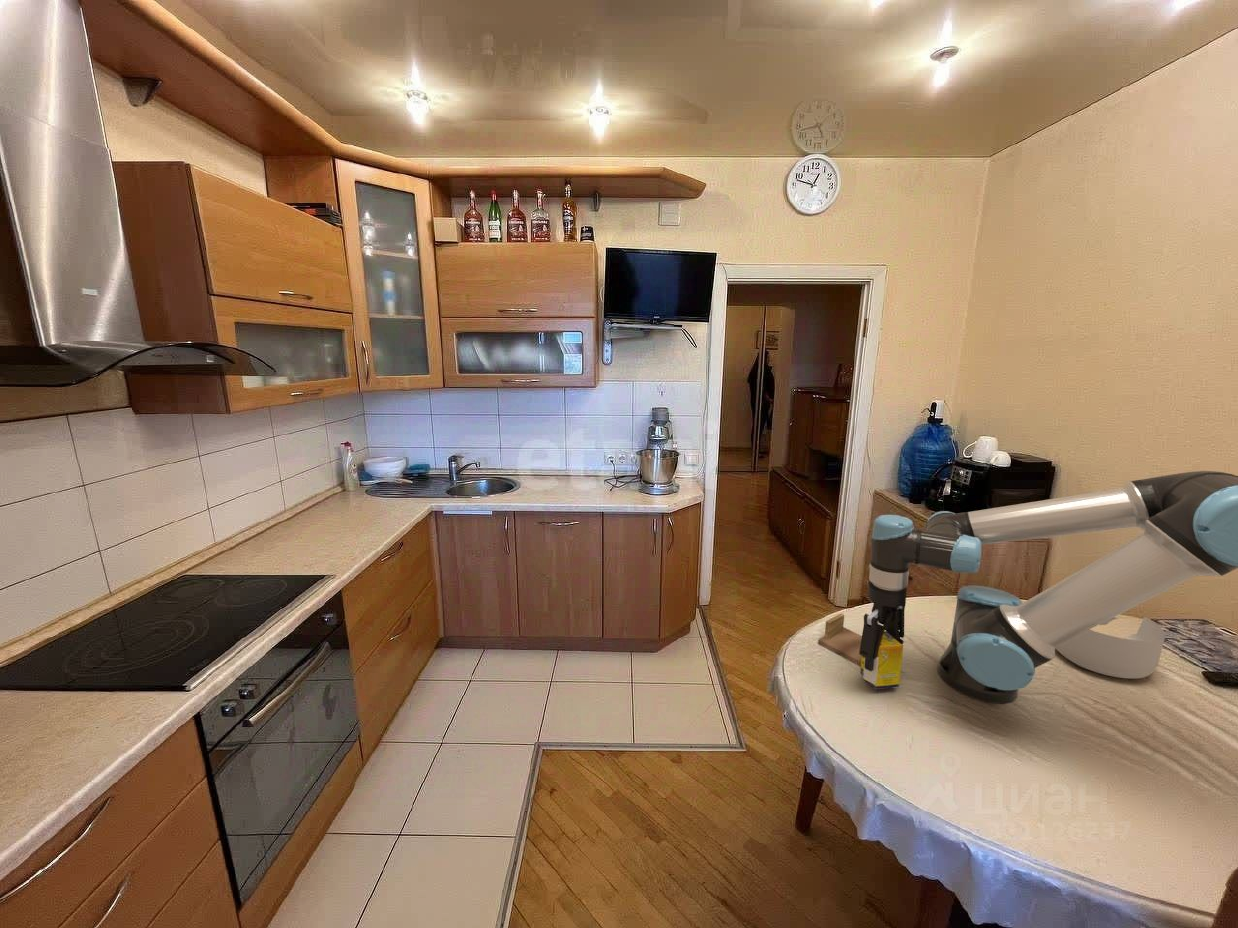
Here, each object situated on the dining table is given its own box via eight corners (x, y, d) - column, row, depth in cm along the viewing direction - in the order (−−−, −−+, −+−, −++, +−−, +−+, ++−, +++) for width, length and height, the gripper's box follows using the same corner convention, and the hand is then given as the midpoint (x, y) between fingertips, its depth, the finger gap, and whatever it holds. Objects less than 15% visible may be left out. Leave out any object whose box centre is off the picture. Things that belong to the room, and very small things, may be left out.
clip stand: (896, 656, 122) (899, 635, 121) (873, 672, 116) (875, 650, 115) (841, 630, 134) (843, 610, 133) (818, 643, 128) (819, 622, 127)
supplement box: (859, 673, 114) (862, 632, 112) (883, 671, 115) (886, 630, 112) (874, 689, 108) (878, 646, 106) (899, 687, 109) (903, 644, 107)
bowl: (1064, 675, 114) (1073, 630, 111) (1031, 632, 131) (1038, 593, 129) (1177, 695, 107) (1190, 648, 104) (1127, 647, 124) (1137, 606, 121)
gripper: (894, 566, 115) (886, 650, 120) (845, 590, 104) (839, 682, 109) (927, 576, 109) (918, 665, 114) (879, 604, 98) (871, 701, 103)
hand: (879, 673), depth 111 cm, fingers closed on supplement box, 8 cm apart
